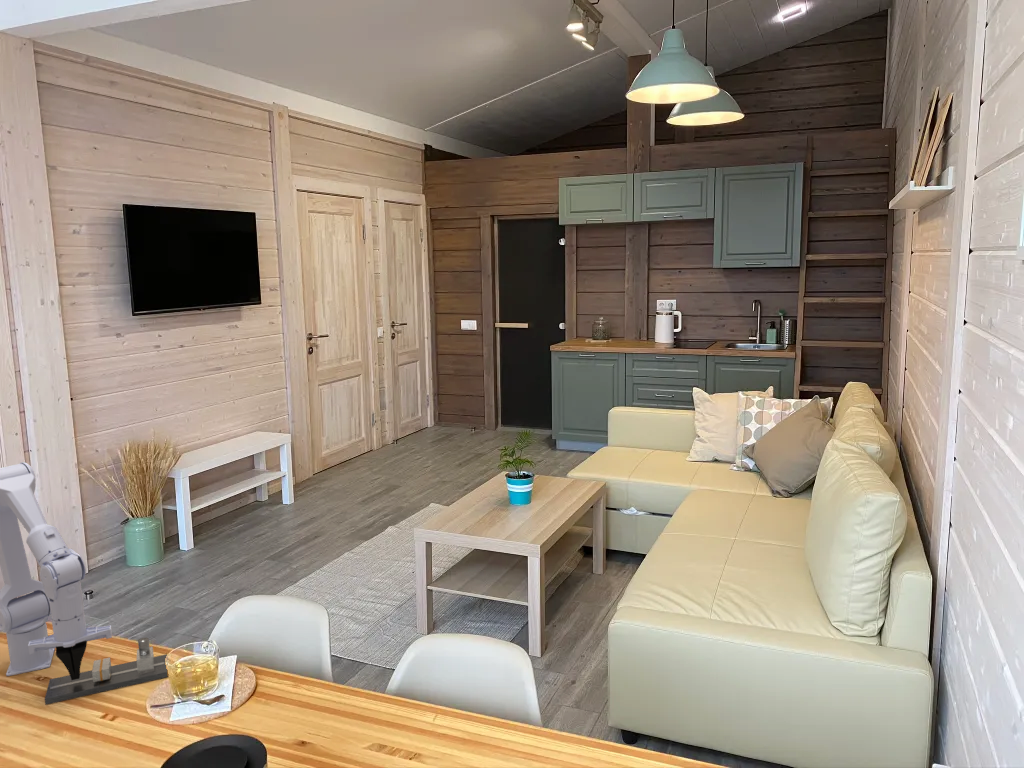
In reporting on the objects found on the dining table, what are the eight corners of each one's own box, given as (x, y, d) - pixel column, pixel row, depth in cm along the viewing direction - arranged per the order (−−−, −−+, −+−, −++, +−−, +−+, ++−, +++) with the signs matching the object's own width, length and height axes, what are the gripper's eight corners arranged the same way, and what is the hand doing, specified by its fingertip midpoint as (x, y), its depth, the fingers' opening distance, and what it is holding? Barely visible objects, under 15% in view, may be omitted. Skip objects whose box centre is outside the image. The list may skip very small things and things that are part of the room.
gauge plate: (50, 684, 157) (46, 651, 156) (167, 659, 166) (164, 627, 165) (45, 704, 150) (40, 669, 148) (167, 677, 159) (164, 644, 157)
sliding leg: (95, 670, 159) (93, 660, 158) (111, 667, 160) (110, 657, 160) (93, 682, 154) (92, 672, 154) (110, 679, 155) (108, 668, 155)
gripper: (22, 631, 146) (31, 696, 148) (107, 615, 152) (115, 677, 154) (27, 616, 153) (36, 678, 155) (109, 601, 159) (116, 661, 161)
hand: (75, 677), depth 155 cm, fingers closed
